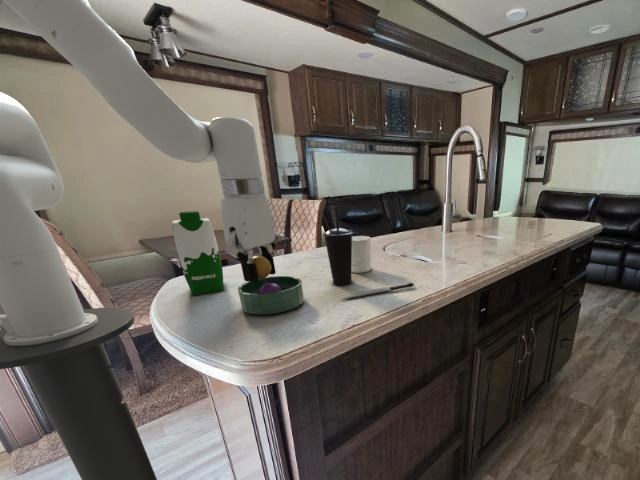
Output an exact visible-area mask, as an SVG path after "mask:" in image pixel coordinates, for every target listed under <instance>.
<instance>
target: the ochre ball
mask: <svg viewBox="0 0 640 480" xmlns="http://www.w3.org/2000/svg"><path fill="white" fill-rule="evenodd" d="M252 263H255V264H256V268H257V274H258V279H263V278H266V277H269V275H271V274H270V272H271V264H270V262H269V260H268V259H266V258H265V257H262V255H255V256H254V255H253V262H252Z"/></svg>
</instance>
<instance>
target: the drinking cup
mask: <svg viewBox="0 0 640 480" xmlns="http://www.w3.org/2000/svg"><path fill="white" fill-rule="evenodd" d="M334 218H335V228H330V229H328V230H327V231H325V232H323V233H322V236H323V237H324V241H325V246H326V251H327V257H328V262H329V267H330V272H331V277H332V282H333V285H334V286H348V285H350V284H352V272H351V267H352V237H353V235H354V232H353V231H351V230H349V229H347V228H343V227H340V225H339V224H340V223H339V211H338V207H334Z"/></svg>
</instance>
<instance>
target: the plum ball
mask: <svg viewBox="0 0 640 480" xmlns="http://www.w3.org/2000/svg"><path fill="white" fill-rule="evenodd" d="M279 291H282V289H281V287H280V286H279V285H277V284H275V283H267V284H265V285H263V286H262V287H261V288H260V290H259V294H264V293H273V292H279Z"/></svg>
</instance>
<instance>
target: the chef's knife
mask: <svg viewBox="0 0 640 480" xmlns="http://www.w3.org/2000/svg"><path fill="white" fill-rule="evenodd" d="M414 286H415V284H414V283H412V282H408V283H406V284H400V285H395V286H390V287H389V286H388V287H387V286H383V287H378V288H374V289H369V290H364V291H359V292H356V293H353V294H351V295H348V296H346V297H344V298H343V300H344V299H345V300H346V299H352V298H353V299H354V298H358V297H363V296H368V295H374V294H379V293H384V292H389V291H397V290H400V289H401V290H402V289H406V288H412V287H414Z"/></svg>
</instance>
